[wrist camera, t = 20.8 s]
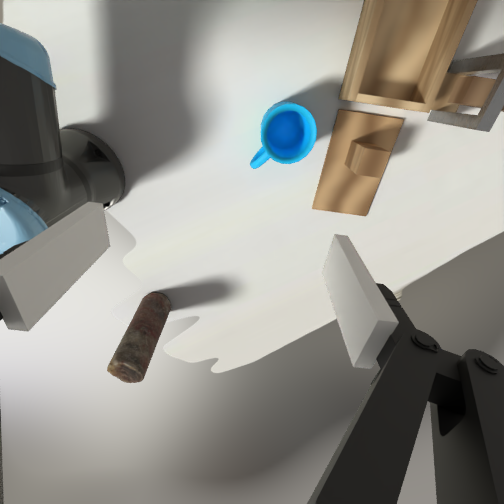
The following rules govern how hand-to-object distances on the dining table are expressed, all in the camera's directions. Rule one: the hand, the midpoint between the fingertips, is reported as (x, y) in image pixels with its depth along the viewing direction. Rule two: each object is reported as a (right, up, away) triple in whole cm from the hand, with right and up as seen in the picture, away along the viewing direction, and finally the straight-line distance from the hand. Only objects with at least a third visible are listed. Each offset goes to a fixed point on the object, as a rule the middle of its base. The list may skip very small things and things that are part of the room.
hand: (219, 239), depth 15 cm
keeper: (+33, +25, +27) cm, 49 cm away
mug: (+6, +20, +31) cm, 37 cm away
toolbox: (+27, +31, +23) cm, 47 cm away
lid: (+21, +15, +34) cm, 42 cm away
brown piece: (-22, -14, +53) cm, 59 cm away
